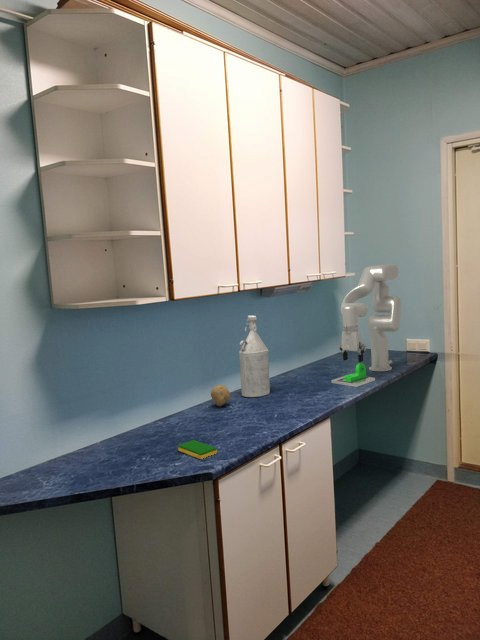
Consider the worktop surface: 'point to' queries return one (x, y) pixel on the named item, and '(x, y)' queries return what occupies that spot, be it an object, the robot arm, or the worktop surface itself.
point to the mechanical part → (357, 373)
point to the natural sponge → (220, 395)
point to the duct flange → (353, 383)
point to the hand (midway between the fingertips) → (353, 360)
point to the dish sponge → (197, 449)
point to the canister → (254, 364)
